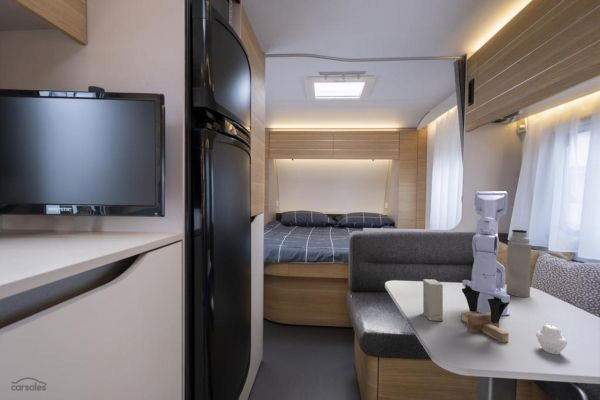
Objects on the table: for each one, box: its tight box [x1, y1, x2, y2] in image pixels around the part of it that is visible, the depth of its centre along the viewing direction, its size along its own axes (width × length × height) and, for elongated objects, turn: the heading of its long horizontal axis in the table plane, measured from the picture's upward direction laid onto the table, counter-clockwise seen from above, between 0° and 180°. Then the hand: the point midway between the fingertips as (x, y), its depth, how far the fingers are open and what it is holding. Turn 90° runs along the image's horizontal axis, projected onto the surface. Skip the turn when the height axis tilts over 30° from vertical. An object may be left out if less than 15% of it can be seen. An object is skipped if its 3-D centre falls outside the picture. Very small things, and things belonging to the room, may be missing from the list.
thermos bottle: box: [505, 229, 532, 298], centre depth 116 cm, size 8×8×28 cm
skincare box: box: [422, 278, 444, 322], centre depth 91 cm, size 6×4×12 cm
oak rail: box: [461, 311, 510, 343], centre depth 82 cm, size 2×14×2 cm, turn 13°
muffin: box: [535, 324, 568, 355], centre depth 71 cm, size 6×6×7 cm
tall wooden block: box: [467, 312, 500, 334], centre depth 82 cm, size 10×2×5 cm, turn 103°
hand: (483, 316), depth 82 cm, fingers open, 7 cm apart
